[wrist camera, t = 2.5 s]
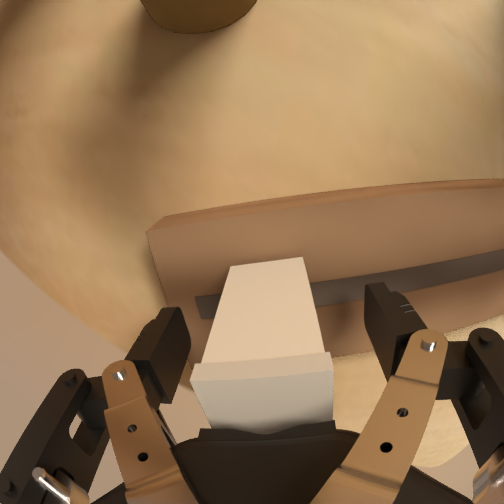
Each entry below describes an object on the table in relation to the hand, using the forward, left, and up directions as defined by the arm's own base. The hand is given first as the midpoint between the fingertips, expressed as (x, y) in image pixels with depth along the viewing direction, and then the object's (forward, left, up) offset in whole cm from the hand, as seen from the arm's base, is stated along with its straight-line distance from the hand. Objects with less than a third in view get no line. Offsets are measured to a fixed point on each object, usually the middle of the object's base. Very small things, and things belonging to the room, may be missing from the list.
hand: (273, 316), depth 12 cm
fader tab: (0, 0, -1) cm, 1 cm away
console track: (0, +8, -4) cm, 9 cm away
